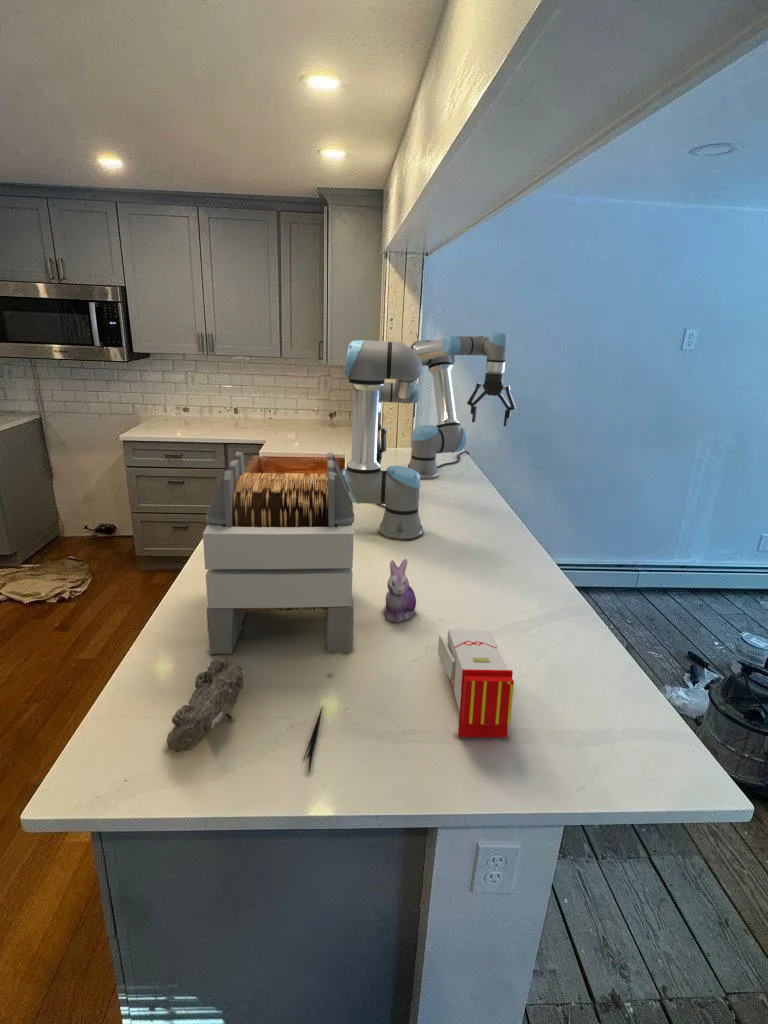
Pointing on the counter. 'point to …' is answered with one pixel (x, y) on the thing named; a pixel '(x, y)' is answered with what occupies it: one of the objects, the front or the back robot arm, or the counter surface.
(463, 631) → the toy
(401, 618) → the figurine
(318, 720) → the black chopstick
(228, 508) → the grey record crate
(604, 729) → the counter surface
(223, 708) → the fossil
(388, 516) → the front robot arm
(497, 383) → the back robot arm
